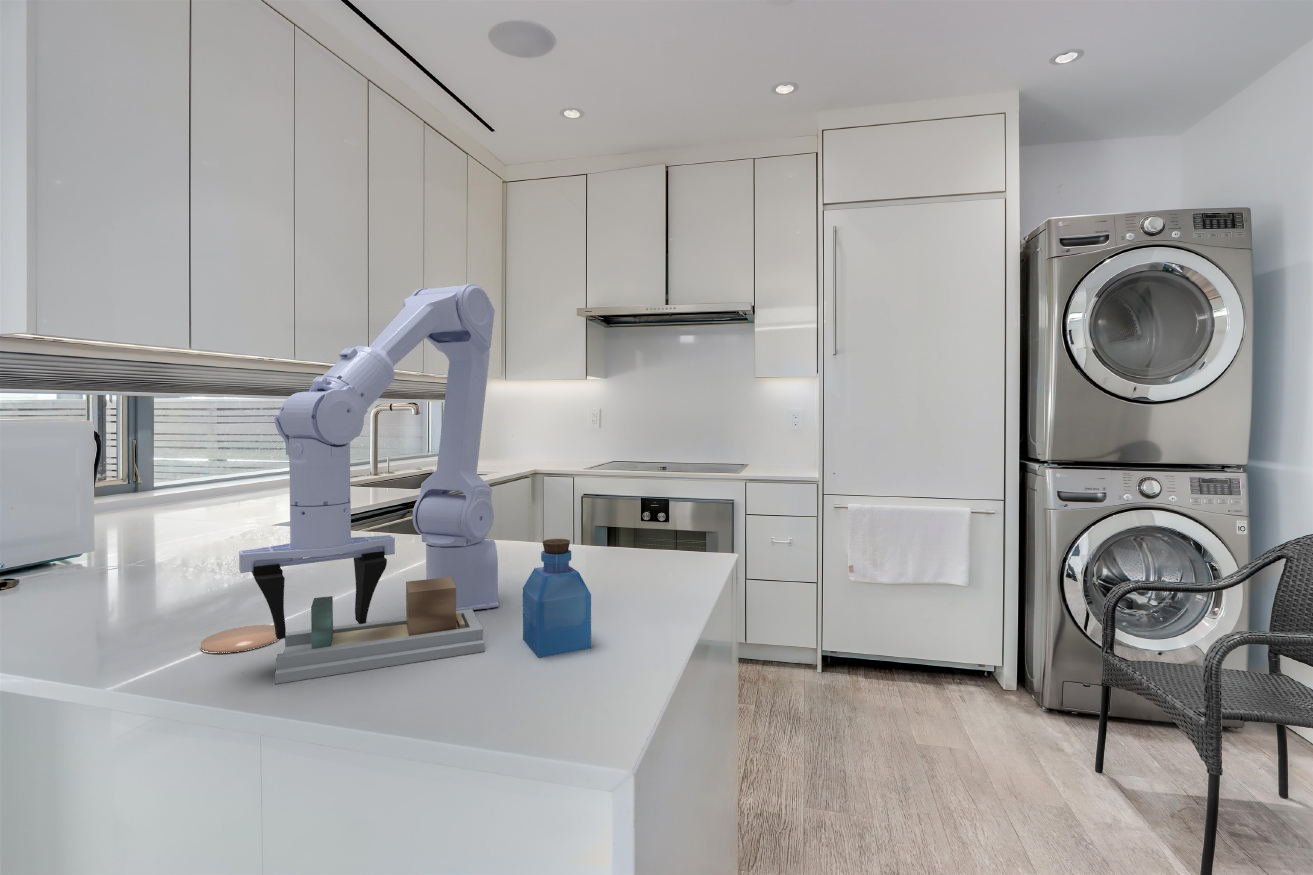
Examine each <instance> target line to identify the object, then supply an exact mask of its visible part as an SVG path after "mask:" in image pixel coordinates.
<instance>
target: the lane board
mask: <svg viewBox="0 0 1313 875" xmlns="http://www.w3.org/2000/svg"><path fill="white" fill-rule="evenodd" d="M456 613H460V614H461V616H462V618H463V621H464V623H465V628H462V629H455V630H448V631H440V632H433V633H426V634H419V635H411V636H404V637H397V638H390V639H382V640H375V641H368V642H361V643H353V644H346V645H339V646H332V647H324V648H317V649H316V648H315V649H312V635H311V628H310V629H309V628H308V629H304V630H295V631H287V632H286V637H285V638H284V645H285V646H284V649H283V651H282V653H277V656H276V658H275V660H276V661H275V662H276V663H275V664H276V668H275V669H276V670H275V673H274V684H275V685H276V684H284V683H290V682H296V681H297V682H298V681H302V680H308V679H310V680H311V679H316V678H322V677H330V676H335V675H341V674H347V673H354V672H361V671H367V670H373V669H380V668H386V667H392V666H394V667H395V666H399V665H405V664H407V665H408V664H413V663H418V662H424V661H433V660H437V659H444V658H445V659H446V658H452V657H458V656H463V655H465V656H466V655H469V654H477V653H482V652H483V653H484V652H485V641H484V630H483V629H484V628H483V627H482V625H481V623H480V621H479V619H478V618H477V615H476V613H475V612H474V610H472V609H469V610H461V611H456ZM402 624H406V617H399V618H390V619H383V620H375V621H366V623H364V624H359V623H358V622H357V623H351V624H342V625H335V626H334V625H333V633H341V632H348V631H356V630H364V629H372V628H379V627H387V626H395V625H402Z"/></svg>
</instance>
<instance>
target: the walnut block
mask: <svg viewBox="0 0 1313 875" xmlns="http://www.w3.org/2000/svg"><path fill="white" fill-rule="evenodd" d="M405 594H406V595H405V598H406V601H405V602H406V604H405V605H406V606H405V608H406V614H405V615H406V624H407V630H408V636H411V635H419V634H426V633H433V632H440V631H448V630H455V629H456V587H455V585H454V583H453V581H452V579H451V577H446V578H436V579H427V580H426V579H418V580H408V581H406V582H405Z"/></svg>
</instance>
